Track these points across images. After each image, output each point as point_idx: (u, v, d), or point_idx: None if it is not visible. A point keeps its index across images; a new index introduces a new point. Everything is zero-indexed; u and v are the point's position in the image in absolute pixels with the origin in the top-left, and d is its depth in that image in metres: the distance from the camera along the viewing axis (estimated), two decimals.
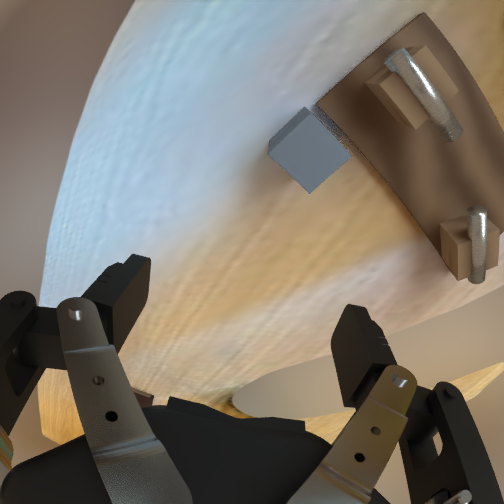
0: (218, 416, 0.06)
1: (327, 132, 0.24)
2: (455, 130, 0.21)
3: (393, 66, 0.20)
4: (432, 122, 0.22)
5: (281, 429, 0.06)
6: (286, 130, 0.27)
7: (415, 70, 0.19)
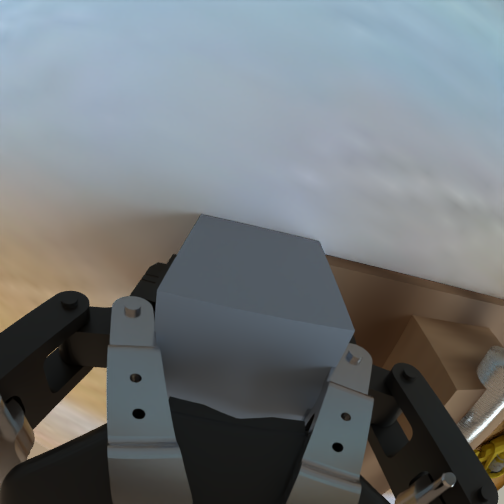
0: (218, 416, 0.06)
1: (321, 385, 0.08)
2: None
3: (495, 384, 0.09)
4: None
5: (281, 429, 0.06)
6: (253, 265, 0.10)
7: (498, 412, 0.09)
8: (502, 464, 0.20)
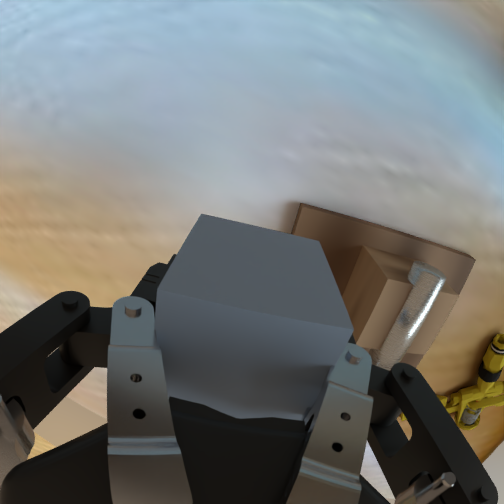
0: (218, 416, 0.06)
1: (320, 383, 0.08)
2: None
3: (418, 280, 0.17)
4: (373, 354, 0.19)
5: (281, 429, 0.06)
6: (253, 264, 0.10)
7: (428, 306, 0.17)
8: (473, 415, 0.28)
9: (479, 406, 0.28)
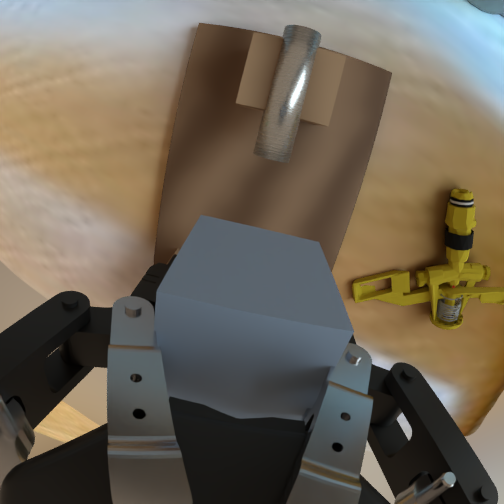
0: (218, 416, 0.06)
1: (320, 385, 0.08)
2: (275, 147, 0.19)
3: (286, 33, 0.16)
4: (262, 119, 0.19)
5: (281, 429, 0.06)
6: (253, 266, 0.10)
7: (303, 54, 0.16)
8: (451, 306, 0.27)
9: (456, 293, 0.27)
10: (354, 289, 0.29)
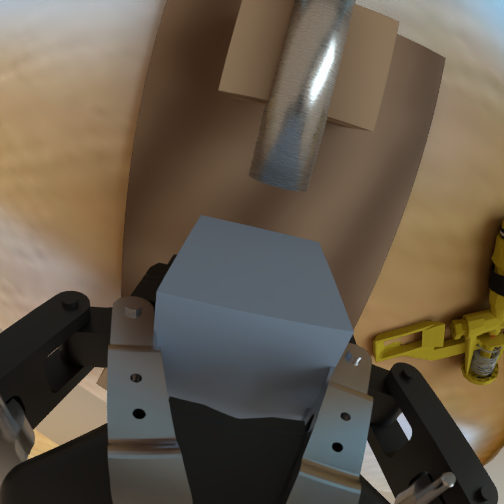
0: (218, 416, 0.06)
1: (320, 385, 0.08)
2: (286, 166, 0.11)
3: None
4: (263, 116, 0.11)
5: (281, 429, 0.06)
6: (253, 266, 0.10)
7: (334, 10, 0.08)
8: (488, 359, 0.20)
9: (496, 345, 0.19)
10: (376, 347, 0.22)
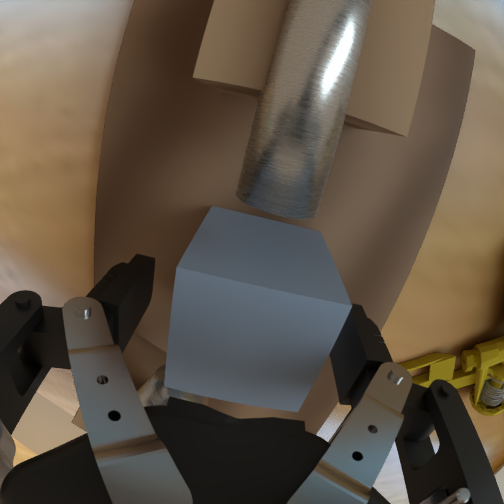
0: (218, 416, 0.06)
1: (322, 358, 0.09)
2: (288, 185, 0.08)
3: None
4: (256, 113, 0.08)
5: (281, 429, 0.06)
6: (261, 249, 0.11)
7: None
8: (500, 389, 0.16)
9: None
10: None
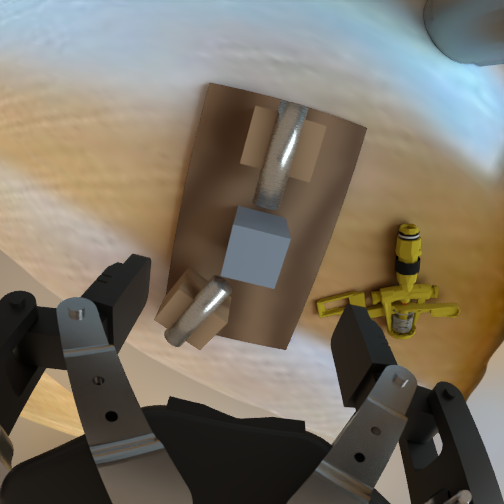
0: (218, 416, 0.06)
1: (282, 260, 0.28)
2: (269, 199, 0.26)
3: (281, 107, 0.23)
4: (259, 175, 0.26)
5: (281, 429, 0.06)
6: (260, 222, 0.29)
7: (293, 126, 0.23)
8: (402, 320, 0.35)
9: (407, 309, 0.35)
10: (318, 307, 0.37)
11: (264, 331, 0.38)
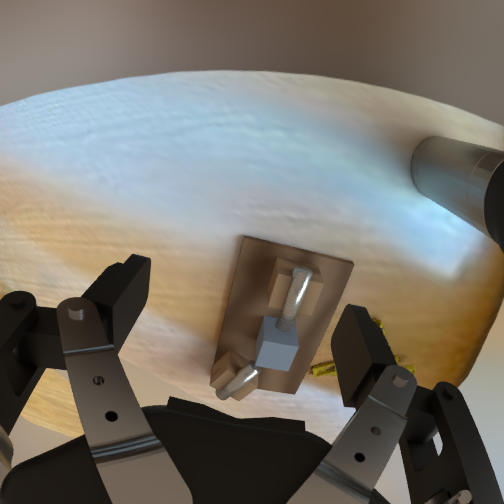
0: (218, 416, 0.06)
1: (293, 357, 0.43)
2: (285, 327, 0.41)
3: (295, 275, 0.39)
4: (280, 312, 0.41)
5: (281, 429, 0.06)
6: (279, 332, 0.44)
7: (302, 288, 0.39)
8: None
9: None
10: (313, 371, 0.52)
11: (280, 384, 0.54)
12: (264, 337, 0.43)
